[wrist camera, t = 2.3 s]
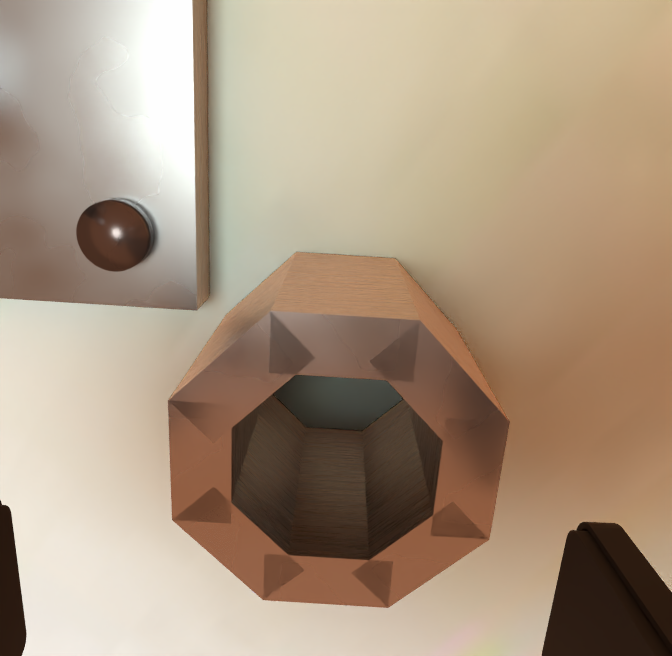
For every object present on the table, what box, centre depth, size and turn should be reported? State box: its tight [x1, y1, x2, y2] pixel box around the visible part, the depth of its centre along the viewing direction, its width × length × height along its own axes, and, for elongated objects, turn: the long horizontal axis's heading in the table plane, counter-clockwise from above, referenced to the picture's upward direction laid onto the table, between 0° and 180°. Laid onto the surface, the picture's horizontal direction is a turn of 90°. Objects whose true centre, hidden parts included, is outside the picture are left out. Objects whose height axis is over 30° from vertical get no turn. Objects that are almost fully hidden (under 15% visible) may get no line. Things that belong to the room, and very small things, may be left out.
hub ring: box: [168, 252, 509, 608], centre depth 15 cm, size 7×7×6 cm
